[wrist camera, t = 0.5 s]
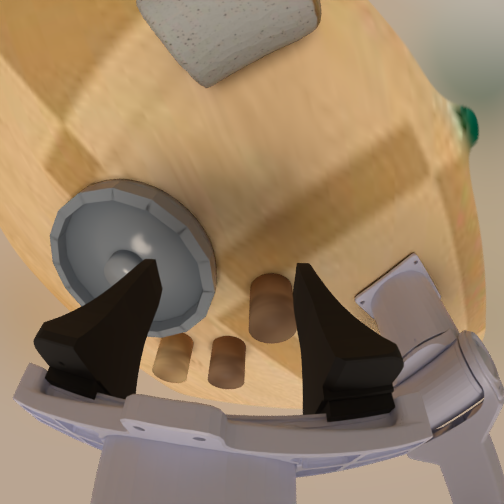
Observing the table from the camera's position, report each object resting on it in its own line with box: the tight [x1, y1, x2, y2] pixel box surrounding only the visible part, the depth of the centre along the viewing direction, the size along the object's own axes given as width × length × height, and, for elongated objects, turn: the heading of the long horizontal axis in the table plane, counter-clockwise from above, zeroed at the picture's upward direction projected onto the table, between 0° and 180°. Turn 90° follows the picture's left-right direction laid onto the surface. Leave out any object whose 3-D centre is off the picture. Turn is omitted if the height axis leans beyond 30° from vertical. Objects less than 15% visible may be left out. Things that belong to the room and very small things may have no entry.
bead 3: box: [249, 273, 297, 343], centre depth 24 cm, size 4×4×5 cm
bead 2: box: [208, 336, 246, 389], centre depth 29 cm, size 4×4×5 cm
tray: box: [50, 179, 217, 338], centre depth 24 cm, size 17×17×2 cm
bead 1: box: [152, 333, 193, 383], centre depth 29 cm, size 4×4×5 cm
